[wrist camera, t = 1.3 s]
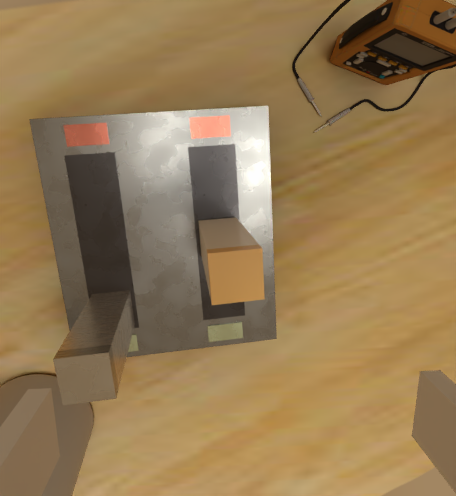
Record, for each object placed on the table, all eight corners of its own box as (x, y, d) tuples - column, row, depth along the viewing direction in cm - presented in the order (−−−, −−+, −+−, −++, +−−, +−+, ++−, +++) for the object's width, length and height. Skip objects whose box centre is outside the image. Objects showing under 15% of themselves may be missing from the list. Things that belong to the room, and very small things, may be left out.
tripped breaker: (235, 217, 40) (262, 248, 28) (238, 253, 41) (264, 299, 29) (198, 220, 40) (207, 253, 27) (201, 256, 41) (212, 305, 28)
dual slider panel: (262, 108, 40) (313, 83, 25) (271, 329, 47) (315, 413, 32) (38, 121, 38) (-53, 102, 23) (81, 352, 45) (32, 454, 30)
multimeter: (273, 119, 41) (356, 92, 22) (304, 22, 39) (427, -103, 20) (390, 161, 44) (555, 169, 25) (425, 72, 42) (635, 6, 23)
